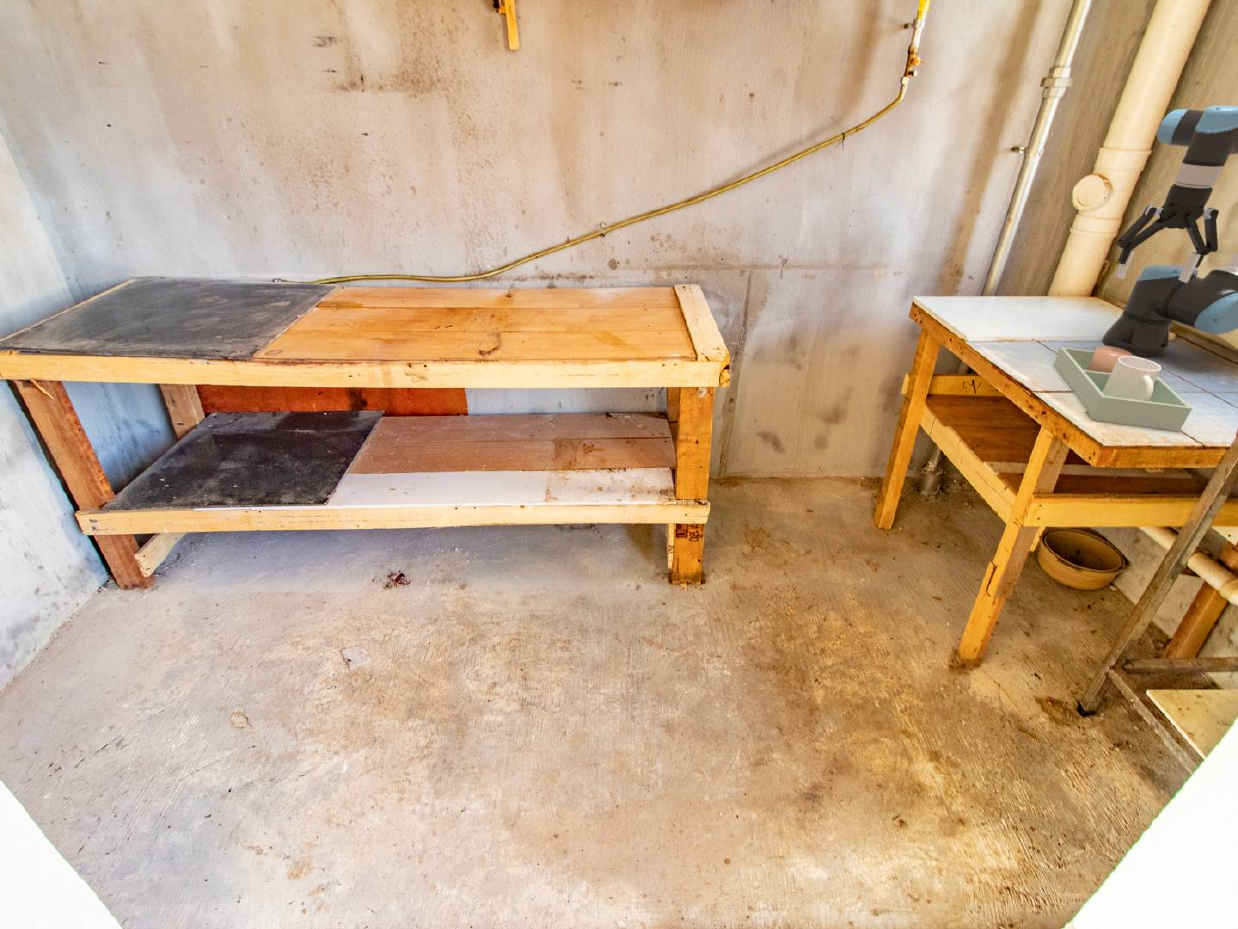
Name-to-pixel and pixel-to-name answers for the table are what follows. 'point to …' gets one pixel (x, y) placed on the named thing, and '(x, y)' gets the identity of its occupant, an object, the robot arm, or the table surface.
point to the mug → (1132, 378)
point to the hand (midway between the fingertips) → (1150, 279)
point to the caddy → (1088, 386)
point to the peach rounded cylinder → (1106, 358)
